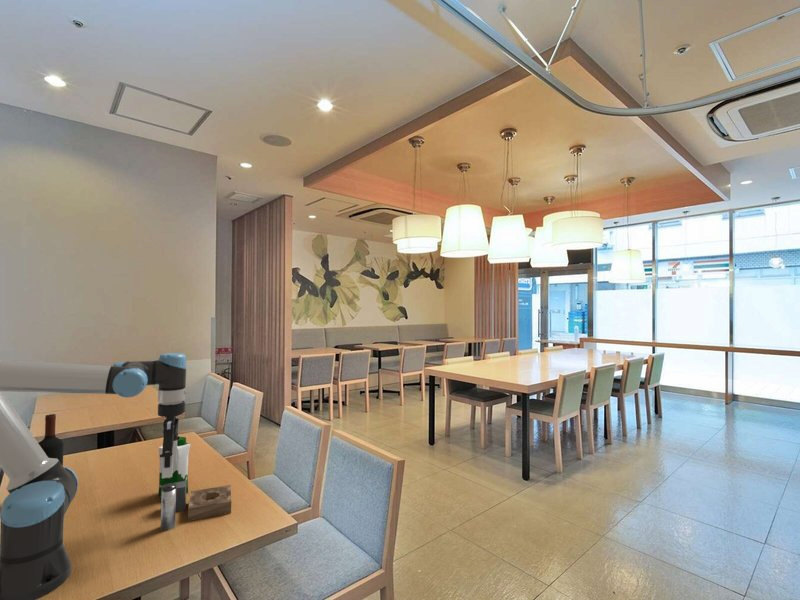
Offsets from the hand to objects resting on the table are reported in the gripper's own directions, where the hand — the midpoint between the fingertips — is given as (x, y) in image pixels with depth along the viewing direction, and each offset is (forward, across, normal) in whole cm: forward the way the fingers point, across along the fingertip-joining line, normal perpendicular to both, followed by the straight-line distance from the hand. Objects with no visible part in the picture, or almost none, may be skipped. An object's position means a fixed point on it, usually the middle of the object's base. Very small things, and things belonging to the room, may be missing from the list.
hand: (169, 468), depth 125 cm
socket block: (+18, +8, -12) cm, 23 cm away
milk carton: (+18, +24, +1) cm, 30 cm away
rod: (+18, 0, 0) cm, 18 cm away
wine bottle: (+19, +37, +41) cm, 58 cm away
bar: (+18, +12, -2) cm, 22 cm away
